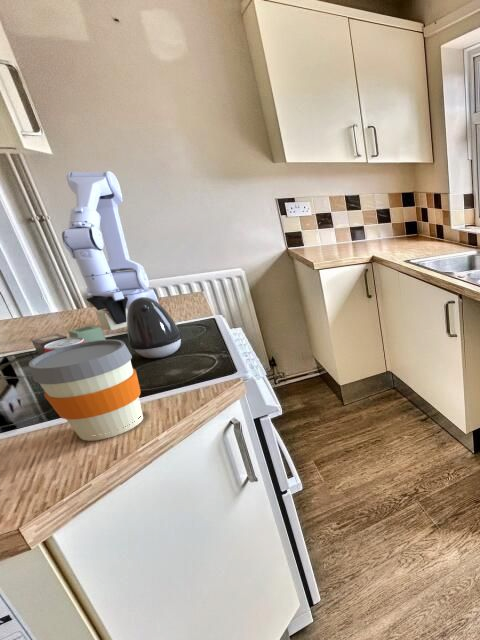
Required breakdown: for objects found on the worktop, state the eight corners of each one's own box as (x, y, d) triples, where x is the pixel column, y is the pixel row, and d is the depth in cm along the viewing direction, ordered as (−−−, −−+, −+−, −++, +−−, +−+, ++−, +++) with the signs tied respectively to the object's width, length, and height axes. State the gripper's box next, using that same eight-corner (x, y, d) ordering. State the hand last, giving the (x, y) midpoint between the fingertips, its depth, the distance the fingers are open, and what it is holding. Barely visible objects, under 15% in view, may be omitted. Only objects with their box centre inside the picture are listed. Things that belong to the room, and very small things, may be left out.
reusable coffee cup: (171, 411, 83) (144, 341, 77) (101, 451, 71) (63, 372, 65) (122, 405, 85) (92, 336, 79) (46, 442, 74) (5, 365, 68)
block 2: (98, 341, 117) (91, 324, 115) (107, 344, 115) (100, 327, 113) (75, 348, 113) (67, 330, 111) (84, 351, 111) (76, 333, 109)
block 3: (123, 322, 122) (117, 305, 120) (133, 324, 120) (126, 307, 118) (102, 328, 118) (95, 310, 116) (111, 330, 115) (104, 313, 114)
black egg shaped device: (137, 366, 102) (113, 307, 96) (135, 353, 109) (113, 297, 103) (188, 354, 108) (168, 297, 102) (183, 343, 115) (165, 289, 109)
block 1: (65, 350, 111) (57, 333, 110) (74, 354, 109) (66, 336, 108) (40, 358, 107) (31, 340, 105) (49, 361, 105) (39, 343, 103)
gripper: (64, 274, 112) (85, 322, 118) (91, 280, 107) (112, 329, 112) (97, 269, 118) (116, 314, 124) (124, 273, 112) (143, 321, 118)
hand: (116, 321), depth 118 cm, fingers closed on block 3, 5 cm apart
